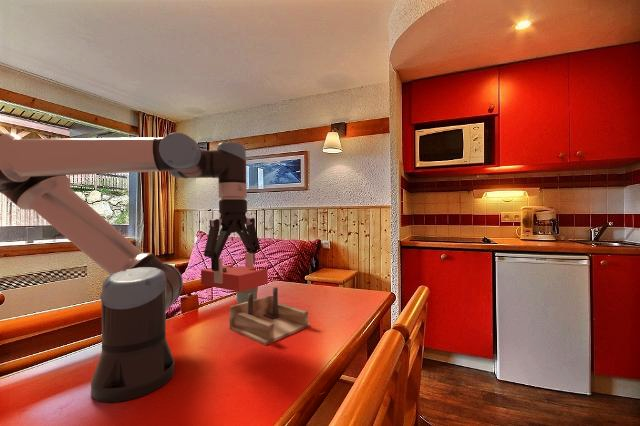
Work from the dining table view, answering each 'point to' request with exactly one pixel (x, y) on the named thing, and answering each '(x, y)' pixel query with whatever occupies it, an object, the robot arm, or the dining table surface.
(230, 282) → the red rectangular block
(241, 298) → the coffee cup
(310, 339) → the dining table surface
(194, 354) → the dining table surface
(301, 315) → the carcass
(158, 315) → the robot arm
